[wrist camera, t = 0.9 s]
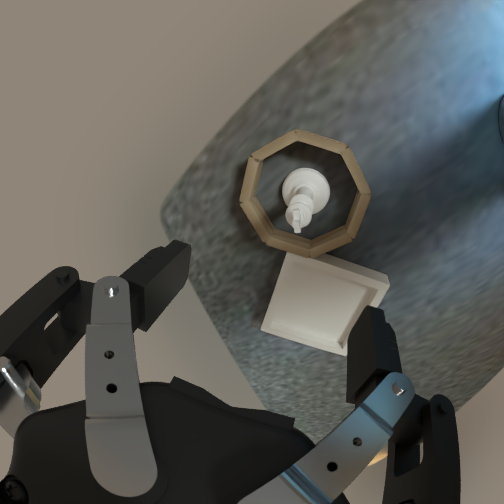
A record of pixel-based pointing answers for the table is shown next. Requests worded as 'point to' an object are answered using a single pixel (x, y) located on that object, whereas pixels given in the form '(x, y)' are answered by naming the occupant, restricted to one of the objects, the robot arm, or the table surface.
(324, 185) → the chess piece
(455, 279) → the table surface
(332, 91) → the table surface
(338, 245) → the holder ring
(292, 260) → the tray
